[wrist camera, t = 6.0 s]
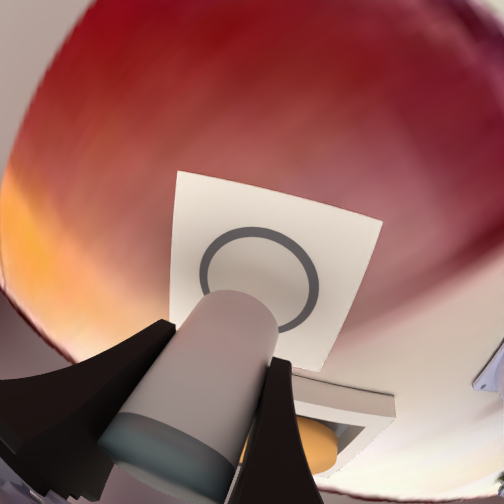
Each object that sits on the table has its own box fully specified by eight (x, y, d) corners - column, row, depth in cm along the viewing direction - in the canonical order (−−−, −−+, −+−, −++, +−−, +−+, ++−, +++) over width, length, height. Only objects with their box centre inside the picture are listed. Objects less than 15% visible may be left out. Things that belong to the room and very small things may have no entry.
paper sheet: (382, 220, 12) (383, 222, 12) (319, 370, 16) (318, 374, 16) (179, 170, 13) (176, 171, 13) (170, 324, 18) (168, 327, 18)
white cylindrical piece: (289, 307, 10) (235, 491, 4) (266, 368, 12) (216, 512, 6) (198, 277, 11) (82, 419, 5) (191, 342, 12) (111, 466, 6)
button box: (393, 395, 16) (395, 417, 14) (330, 461, 21) (328, 478, 19) (225, 355, 18) (215, 376, 16) (212, 432, 23) (205, 448, 21)
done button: (356, 427, 15) (355, 446, 14) (316, 467, 19) (313, 481, 17) (242, 401, 17) (235, 420, 15) (229, 446, 20) (223, 460, 19)
